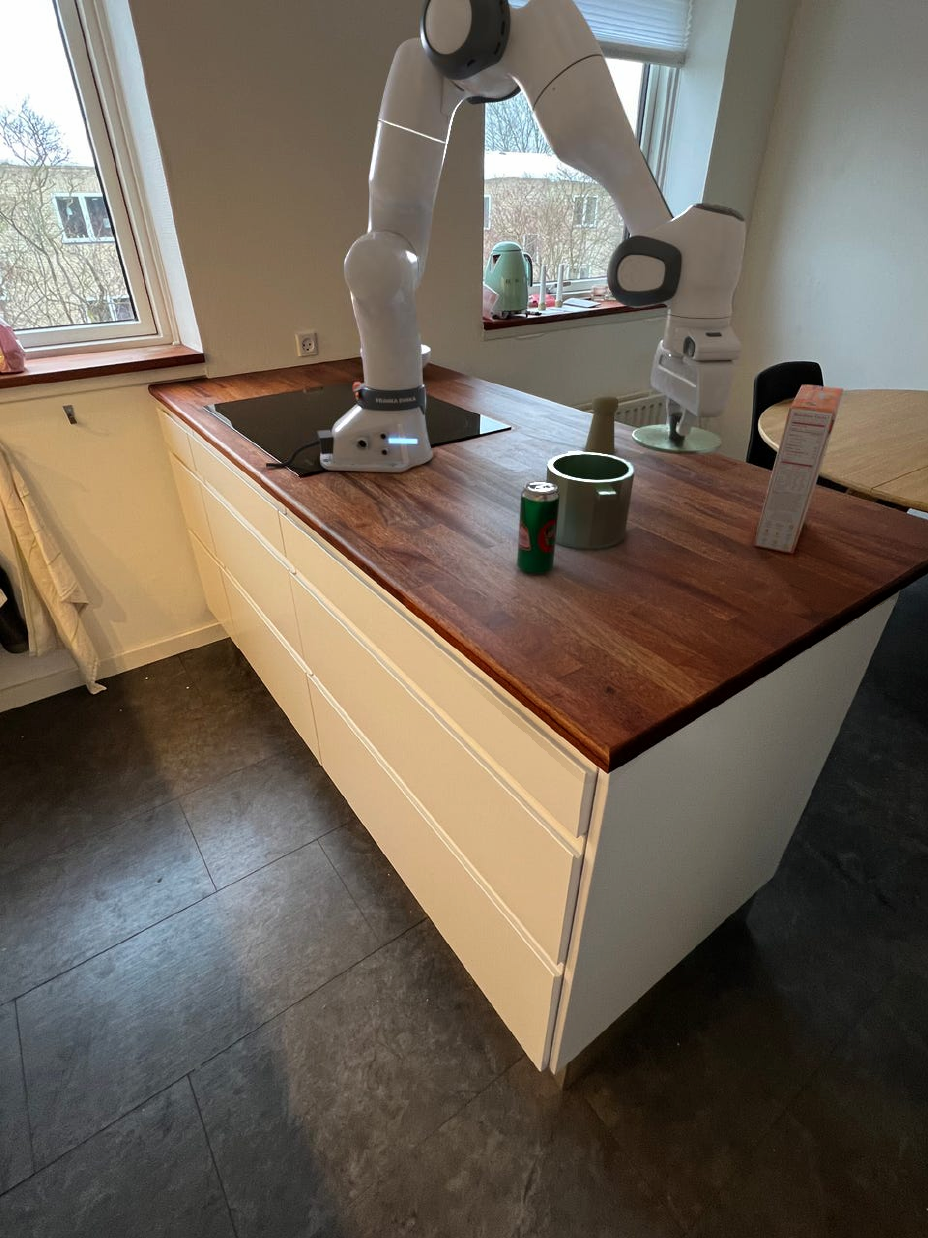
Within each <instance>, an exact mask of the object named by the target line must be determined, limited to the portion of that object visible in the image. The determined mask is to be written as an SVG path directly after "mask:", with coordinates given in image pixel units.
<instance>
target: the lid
mask: <svg viewBox="0 0 928 1238" xmlns="http://www.w3.org/2000/svg"><path fill="white" fill-rule="evenodd" d="M682 415H683V413H682V412H681V411H680V412H676V413H672V416H671V422H670V427H668V426H667V425H666V423H665V424H651V425H645V426H641V427H638V428H636V429H635V430H634V431H633V432H632V438H631V439H632V440H633V442H634V443H636V444H637V445H639V446H640V447H642V448H646V449H648V450H651V451H655V452H661V453H664V454H665V453H666V454H673V455H702V454H708V453H712V452H714V451H716V450H718V449H720V448H721V445H722V438H720V437H721V436H718V435H717V434H716V433H714V432H711V431H709V430H706V429H703V428H700V427H694V426H691V431H690V434H689V435H687V436H680V435H679V434H678V433H677V432H676V428H677V427H676V426H677V422H680V420H681V417H682Z"/></svg>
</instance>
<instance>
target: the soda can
mask: <svg viewBox="0 0 928 1238" xmlns="http://www.w3.org/2000/svg"><path fill="white" fill-rule="evenodd" d="M523 488H524V489H523V490H522V492H521V493H520V503H519V505H520V506H519V525H518V541H517V556H516V557H517V558H516V559H517V560H516V565H517V567H518V569H520V571H522V572H523V573H525V574H528V575H531V576H541V575H546V574H548V573H549V572H550V571H552V569H553V568H554V564H555V553H556V552H555V551H556V543H555V542H556V531H557V520H558V509H559V498H560V495H559V493H558V491H557V489H558V488H557V486H556V485H554V484H552V483H549V482H546V481H542V480H541V481H540V480H537V481H530V482H527V483H525V484H524V487H523Z"/></svg>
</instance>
